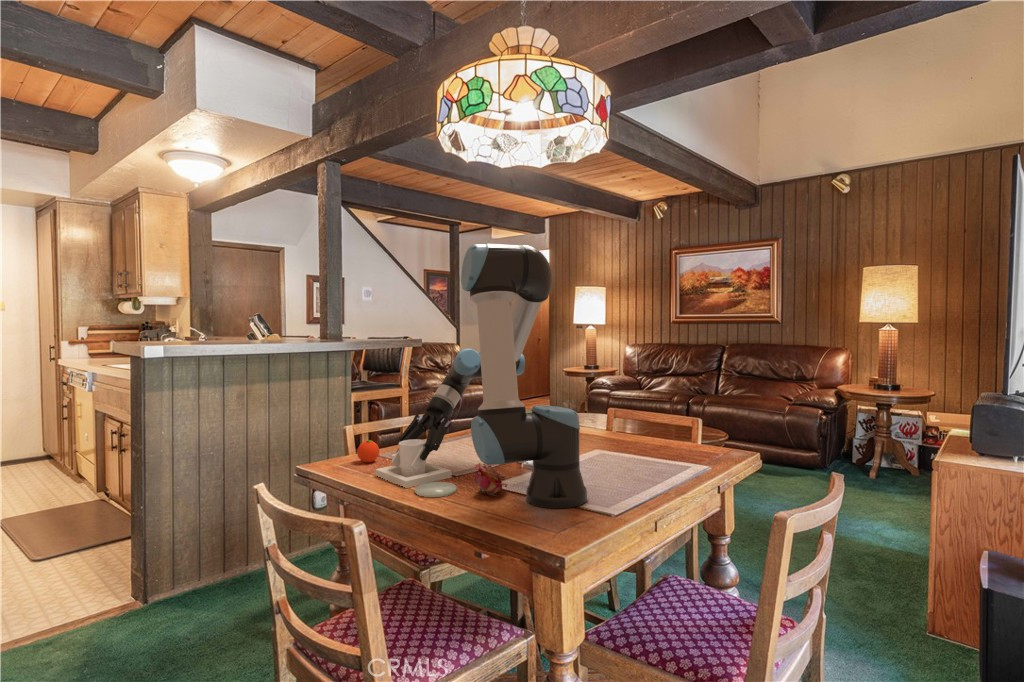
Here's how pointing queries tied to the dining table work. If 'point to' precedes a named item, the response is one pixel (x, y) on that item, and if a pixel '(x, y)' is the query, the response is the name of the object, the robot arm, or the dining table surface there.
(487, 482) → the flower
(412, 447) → the white cup
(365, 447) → the clementine
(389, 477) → the board
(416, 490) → the coaster
